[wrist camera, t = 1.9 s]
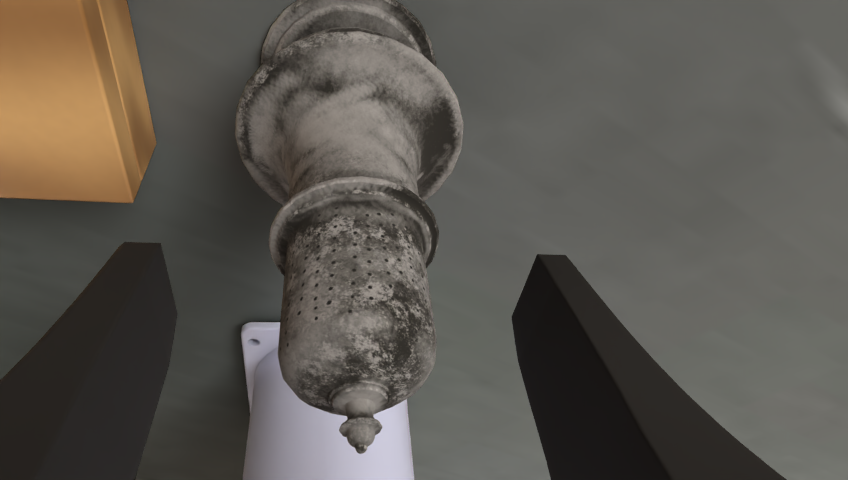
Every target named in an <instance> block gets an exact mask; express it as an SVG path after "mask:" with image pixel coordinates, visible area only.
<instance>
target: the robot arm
mask: <svg viewBox="0 0 848 480" xmlns="http://www.w3.org/2000/svg"><path fill="white" fill-rule="evenodd" d="M176 320H177V310H176V306H175V302H174V297H173V293H172V289H171V285H170V280H169V276H168V272H167V268H166V264H165V259H164V255H163V251H162V247H161V243H135V242H124V243H123V244H122V245H121V246H119V247H118V249H117V250H116V251H115V252H114V254H113V255H112V256H111V257H110V259H109V260H108V261H107V262H106V264H105V265H104V266H103V267H102V269H101V270H100V271H99V272H98V274H97V275H96V276H95V277H94V278H93V280H92V281H91V282H90V283H89V284H88V286H87V287H86V288H85V289H84V290H83V292H82V293H81V294H80V295H79V296H78V298H77V299H76V300H75V301H74V302H73V303H72V305H71V306H70V307H69V308H68V309H67V310H66V311H65V312H64V314H63V315H62V316H61V317H60V318H59V319H58V320H57V321H56V323H55V324H54V325H53V326H52V327H51V328H50V329H49V330H48V331H47V333H46V334H45V335H44V336H43V337H42V338H41V339H40V340H39V341H38V343H37V344H36V345H35V346H34V347H33V348H32V349H31V350H30V351H29V352H28V353H27V354H26V355H25V356H24V357H23V358H22V359H21V360H20V361H19V362H18V363H17V364H16V365H15V366H14V367H13V368H12V369H11V370H10V371H9V372H8V373H7V374H6V375H5V376H4V377H3V378H2V379H1V380H0V480H135V477H136V474H137V471H138V467H139V464H140V461H141V457H142V454H143V451H144V447H145V444H146V441H147V438H148V434H149V431H150V428H151V424H152V421H153V418H154V414H155V411H156V408H157V404H158V401H159V397H160V394H161V391H162V387H163V384H164V380H165V377H166V374H167V370H168V367H169V362H170V357H171V351H172V345H173V339H174V333H175V327H176ZM512 323H513V330H514V337H515V344H516V350H517V356H518V362H519V366H520V370H521V373H522V377H523V381H524V384H525V388H526V391H527V395H528V398H529V402H530V405H531V409H532V412H533V416H534V419H535V423H536V426H537V430H538V433H539V437H540V440H541V444H542V447H543V451H544V454H545V457H546V461H547V465H548V469H549V473H550V477H551V480H786V479H785V478H784V477H782V476H781V475H780V474H778V473H777V472H776V471H775V470H773V469H772V468H771V467H770V466H768V465H767V464H766V463H765V462H764V461H762V460H761V459H760V458H759V457H757V456H756V455H755V454H754V453H752V452H751V451H750V450H749V449H748V448H746V447H745V446H744V445H743V444H741V443H740V442H739V441H738V440H737V439H736V438H734V437H733V436H732V435H731V434H730V433H729V432H728V431H726V430H725V429H724V428H723V427H722V426H721V425H720V424H719V423H717V422H716V421H715V420H714V419H713V418H712V417H711V416H710V415H709V414H708V413H707V412H706V411H705V410H703V409H702V408H701V407H700V406H699V405H698V404H697V403H696V402H695V401H694V400H693V399H692V398H691V397H690V396H689V395H687V394H686V393H685V392H684V391H683V390H682V389H681V388H680V387H679V386H678V385H677V384H676V383H675V382H674V380H673V379H672V378H671V377H670V376H669V375H668V374H667V373H666V372H665V371H664V370H663V369H662V368H661V367H660V366H659V365H658V364H657V363H656V362H655V361H654V360H653V358H652V357H651V356H650V355H649V354H648V353H647V352H646V351H645V350H644V349H643V347H642V346H641V345H640V344H639V343H638V342H637V341H636V340H635V338H634V337H633V336H632V335H631V334H630V333H629V332H628V330H627V329H626V328H625V327H624V326H623V325H622V323H621V322H620V321H619V320H618V319H617V317H616V316H615V315H614V314H613V313H612V311H611V310H610V309H609V308H608V307H607V305H606V304H605V303H604V302H603V301H602V299H601V298H600V297H599V296H598V294H597V293H596V292H595V291H594V290H593V288H592V287H591V286H590V285H589V283H588V282H587V281H586V280H585V278H584V277H583V276H582V275H581V273H580V272H579V271H578V270H577V268H576V267H575V266H574V265H573V264H572V262H571V261H570V260H569V259H568V258H567V256H566V255H541V254H537V256H536V259H535V261H534V264H533V266H532V269H531V271H530V274H529V276H528V278H527V281H526V283H525V286H524V288H523V291H522V293H521V296H520V298H519V300H518V303H517V305H516V308H515V310H514V313H513V315H512ZM279 332H280V322H249V323H247V324H244V325H243V326H242V331H241V340H242V348H243V357H244V365H245V373H246V382H247V390H248V399H249V407H250V421H249V430H248V438H247V446H246V455H245V463H244V471H243V480H414V472H413V461H412V450H411V440H410V429H409V418H408V408H407V399H406V400H404V401H403V402H401V403H399V404H397V405H395V406H393V407H391V408H388V409H386V410H383V411H381V412H378V413H376V414H374V416H373V417H374V418H375V419H377V420H378V421H379V422H380V423H381V425H382V429H381V431H380V433H378V434H377V435H375V439H374V441H373V443H372V444H371V445H369V446H368V447H367V451H366V452H365V453H363V454H359V453H357V452H356V449H355V447H352V446H351V445H350V444H349V443H348V440H347V437H344V436H342V434H341V433H340V432H339V429H340V426H341V424H342V423H344V422H345V421H346V420H347V416H343V415H337V414H331V413H328V412H326V411H323V410H320V409H317V408H315V407H312V406H309V405H308V404H306V403H305V402H303V401H302V400H300V399H299V398H298V397H297V396H296V394H295V393H294V392H293V391H292V389H291V388H290V387H289V386H288V385H287V383H286V382H285V381H284V380H283V377H282V373H281V370H280V365H279V359H278V343H279Z"/></svg>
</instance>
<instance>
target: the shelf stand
mask: <svg viewBox="0 0 848 480" xmlns="http://www.w3.org/2000/svg"><path fill="white" fill-rule="evenodd" d="M155 146H156V139H155V134H154V129H153V124H152V119H151V115H150V110H149V105H148V100H147V95H146V90H145V86H144V81H143V76H142V71H141V66H140V62H139V57H138V52H137V47H136V42H135V37H134V33H133V28H132V23H131V18H130V13H129V9H128V4H127V0H0V198H16V199H41V200H65V201H89V202H114V203H133V202H134V199H135V197H136V194H137V192H138V189H139V186H140V184H141V181H142V179H143V176H144V174H145V171H146V169H147V166H148V164H149V161H150V158H151V156H152V153H153V151H154V148H155Z"/></svg>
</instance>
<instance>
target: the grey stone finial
mask: <svg viewBox="0 0 848 480" xmlns="http://www.w3.org/2000/svg"><path fill="white" fill-rule="evenodd" d="M235 137H236V141H237V144H238V148H239V152H240V156H241V160H242V161H243V163H244V165H245V166H246V168H247V170H248V171H249V173H250V174H251V176H252V178H253V179H254V181H255V182H256V183H257V184H258V185H259V186H260V187H261V188H262V189H263V190H264V191H265V192H266V193H267V194H268V195H269V196H270V197H272V198H273V199H274V200H276V201H277V202H279V203H281V204H282V205H283V206H282V207H281V208H280V210H279V211H278V213H277V215H276V217H275V219H274V221H273V222H272V224H271V230H270V237H269V248H270V252H271V256H272V260H273V261H274V263H275V264H276V266H277V267H278V269H279V270H280V272H281V273H282V274H283V275H284V276H285V277H284V288H283V299H282V310H281V321H280V332H279V343H278V359H279V365H280V370H281V373H282V377H283V380H284V381H285V382H286V383H287V385H288V386H289V387H290V388H291V389H292V391H293V392H294V393H295V394H296V396H297V397H298V398H299V399H300V400H302V401H303V402H305V403H306V404H308V405H309V406H312V407H315V408H317V409H320V410H323V411H326V412H328V413H331V414H337V415H343V416H347V420H346V421H345V422H344V423H342V424H341V426H340V429H339V432H340V433H341V434H342V436H344V437H347V440H348V443H349V444H350V445H351V446H352V447H355V449H356V452H357V453H359V454H363V453H365V452H366V451H367V447H368V446H369V445H371V444H372V443H373V441H374V439H375V435H377V434H378V433H380V431H381V429H382V425H381V423H380V422H379V421H378V420H377V419H375V418H374V417H373V416H374V414H376V413H378V412H381V411H383V410H386V409H388V408H391V407H393V406H395V405H397V404H399V403H401V402H403V401H404V400H406V399H407V398H409V397H411V396H412V395H413V394H414V393H415V392H416V391H417V390H419V389H420V388H421V386H422V385H423V383H424V382H425V381H426V379H427V378H428V376H429V374H430V372H431V371H432V369H433V367H434V364H435V355H436V343H437V338H436V331H435V325H434V318H433V311H432V305H431V298H430V291H429V284H428V278H427V271H426V268H427V267H428V265H429V264H430V263H431V262H432V260H433V257H434V255H435V253H436V250H437V248H438V237H439V230H438V226H437V223H436V220H435V217H434V214H433V212H432V211H431V209H430V208H429V207H428V206H427V204H426V203H425V202H424V201H425V200H426V199H428V198H429V197H430V196H431V195H433V194H434V193H435V192H436V191H438V190H439V188H440V187H441V186H442V184H443V183H444V182H445V180H446V179H447V178H448V176H449V175H450V174H451V172H452V171H453V169H454V167H455V164H456V161H457V159H458V156H459V154H460V151H461V148H462V137H463V120H462V116H461V112H460V107H459V103H458V99H457V96H456V95H455V93H454V91H453V90H452V88H451V86H450V85H449V83H448V81H447V80H446V78H445V76H444V74H443V73H442V72H441V71H440V70H439V69H438V68H436V60H435V56H434V52H433V48H432V44H431V40H430V39H429V37H428V35H427V33H426V32H425V30H424V28H423V27H422V25H421V23H420V22H419V20H418V19H417V18H416V17H415V16H414V15H413V14H411V13H410V12H409V11H408V10H407V9H406V8H405V7H404V6H403V5H402V4H400V3H399V2H397V1H395V0H297V1H296V2H294V3H293V4H291V5H289V6H288V7H286V8H285V10H284V11H283V12H282V13H281V14H280V16H279V17H278V18H277V19H276V20H275V22H274V23H273V24H272V25H271V27H270V30H269V32H268V34H267V37H266V39H265V42H264V44H263V47H262V56H261V66H260V67H259V69H258V70H257V71H256V72H255V73H254V74H253V76H252V77H251V78H250V79H249V80H248V82H247V84H246V86H245V89H244V91H243V94H242V96H241V98H240V101H239V103H238V106H237V111H236V126H235Z"/></svg>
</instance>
